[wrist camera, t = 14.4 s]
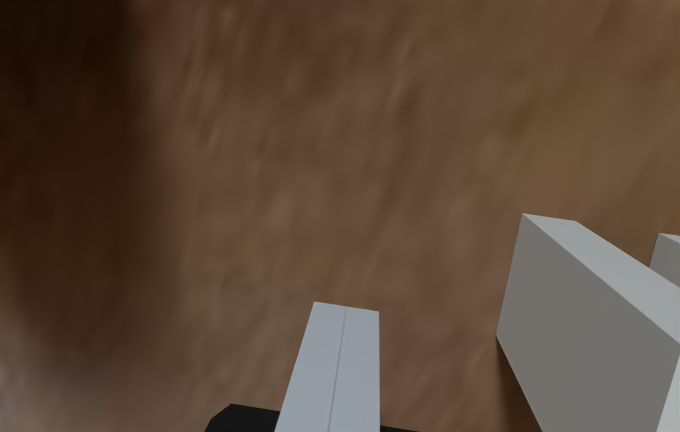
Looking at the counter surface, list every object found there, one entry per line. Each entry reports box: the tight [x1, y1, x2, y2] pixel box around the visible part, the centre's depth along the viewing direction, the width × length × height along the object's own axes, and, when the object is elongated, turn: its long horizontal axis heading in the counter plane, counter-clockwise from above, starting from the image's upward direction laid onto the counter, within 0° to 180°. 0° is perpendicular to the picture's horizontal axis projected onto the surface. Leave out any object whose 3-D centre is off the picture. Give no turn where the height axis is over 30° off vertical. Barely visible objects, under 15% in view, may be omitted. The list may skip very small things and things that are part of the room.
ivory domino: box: [496, 213, 680, 432], centre depth 15 cm, size 2×5×11 cm, turn 173°
